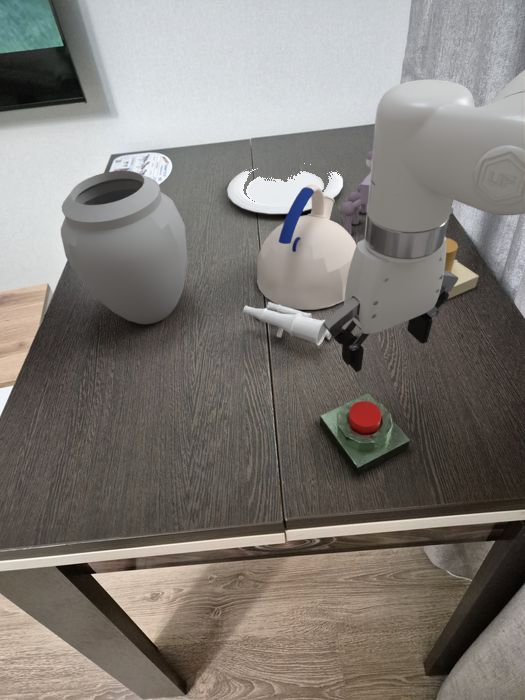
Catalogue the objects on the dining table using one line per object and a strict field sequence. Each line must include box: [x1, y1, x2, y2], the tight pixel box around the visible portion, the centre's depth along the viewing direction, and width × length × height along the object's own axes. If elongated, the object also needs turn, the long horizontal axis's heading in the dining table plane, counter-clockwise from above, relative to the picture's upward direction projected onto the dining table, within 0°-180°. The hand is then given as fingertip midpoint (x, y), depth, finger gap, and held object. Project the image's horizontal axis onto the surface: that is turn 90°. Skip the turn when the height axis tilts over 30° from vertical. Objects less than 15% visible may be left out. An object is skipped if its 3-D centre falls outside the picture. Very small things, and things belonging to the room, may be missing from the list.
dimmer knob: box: [444, 237, 459, 272], centre depth 78 cm, size 5×5×5 cm
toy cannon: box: [242, 301, 332, 347], centre depth 72 cm, size 8×14×5 cm
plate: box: [226, 163, 344, 216], centre depth 110 cm, size 29×29×2 cm
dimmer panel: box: [447, 259, 480, 300], centre depth 80 cm, size 11×9×3 cm
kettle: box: [256, 184, 357, 311], centre depth 79 cm, size 20×21×18 cm
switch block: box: [319, 392, 411, 476], centre depth 58 cm, size 9×8×4 cm
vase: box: [60, 170, 188, 325], centre depth 74 cm, size 20×20×24 cm
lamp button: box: [349, 401, 381, 434], centre depth 56 cm, size 4×4×2 cm
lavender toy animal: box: [340, 149, 373, 235], centre depth 94 cm, size 20×11×14 cm, turn 150°
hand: (384, 349), depth 55 cm, fingers open, 9 cm apart
